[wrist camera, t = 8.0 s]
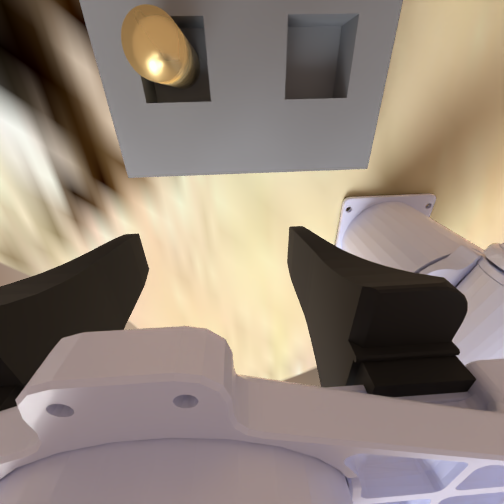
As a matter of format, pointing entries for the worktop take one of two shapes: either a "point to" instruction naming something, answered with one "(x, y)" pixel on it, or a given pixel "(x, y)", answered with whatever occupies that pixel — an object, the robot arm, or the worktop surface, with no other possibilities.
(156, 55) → the brass pin
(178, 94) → the bore block
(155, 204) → the worktop surface
